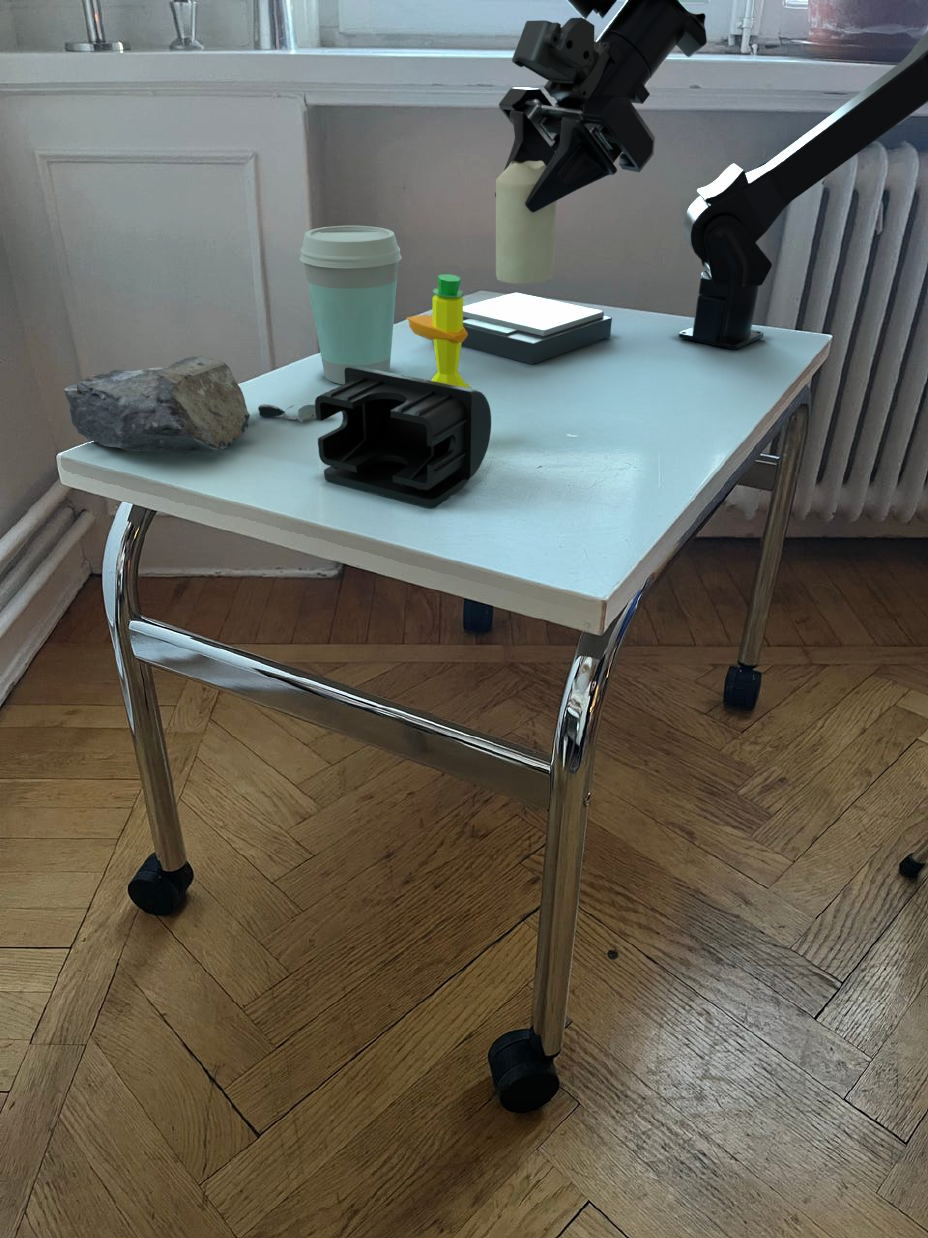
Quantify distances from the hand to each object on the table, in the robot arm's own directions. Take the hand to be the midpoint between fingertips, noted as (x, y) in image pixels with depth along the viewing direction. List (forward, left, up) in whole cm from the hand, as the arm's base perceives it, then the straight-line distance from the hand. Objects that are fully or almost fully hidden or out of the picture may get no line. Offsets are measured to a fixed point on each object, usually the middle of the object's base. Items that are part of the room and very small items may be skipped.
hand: (513, 203), depth 83 cm
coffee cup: (+16, -5, -13) cm, 21 cm away
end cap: (+29, +15, -13) cm, 35 cm away
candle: (-1, +1, -7) cm, 7 cm away
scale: (-4, -2, -13) cm, 14 cm away
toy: (+29, 0, -13) cm, 31 cm away
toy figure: (+22, +11, -13) cm, 28 cm away
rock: (+40, -4, -14) cm, 42 cm away
